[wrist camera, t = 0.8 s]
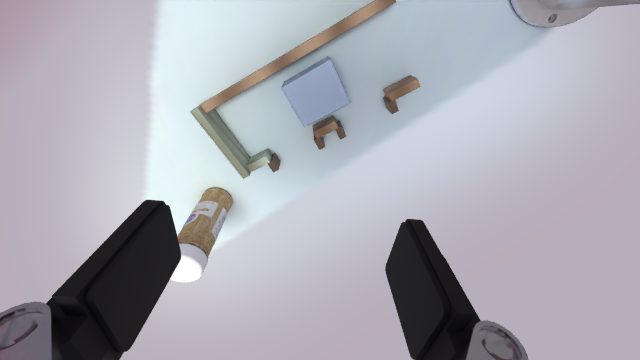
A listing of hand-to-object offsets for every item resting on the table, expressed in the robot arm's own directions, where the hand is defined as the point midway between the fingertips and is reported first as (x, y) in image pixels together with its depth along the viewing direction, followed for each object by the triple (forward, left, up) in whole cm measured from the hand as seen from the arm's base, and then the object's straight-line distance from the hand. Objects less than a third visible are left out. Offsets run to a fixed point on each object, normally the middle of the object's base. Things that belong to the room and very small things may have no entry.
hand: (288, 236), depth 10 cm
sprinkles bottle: (+19, +7, -25) cm, 32 cm away
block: (-2, 0, -25) cm, 25 cm away
